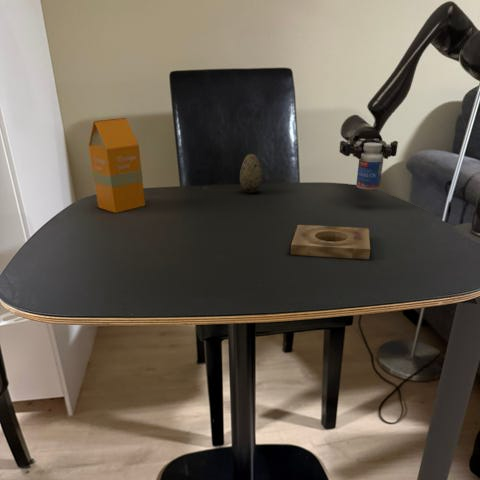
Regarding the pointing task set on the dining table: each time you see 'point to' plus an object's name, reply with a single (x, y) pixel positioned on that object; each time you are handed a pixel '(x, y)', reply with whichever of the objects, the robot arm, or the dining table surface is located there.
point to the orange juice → (116, 165)
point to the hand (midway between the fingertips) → (373, 153)
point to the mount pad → (316, 244)
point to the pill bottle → (370, 167)
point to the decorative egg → (250, 174)
